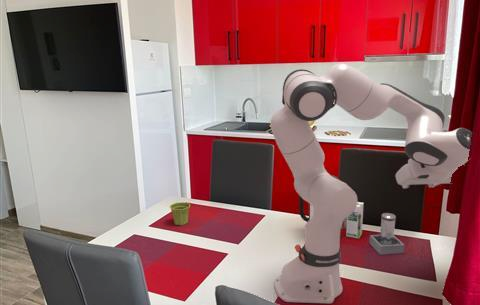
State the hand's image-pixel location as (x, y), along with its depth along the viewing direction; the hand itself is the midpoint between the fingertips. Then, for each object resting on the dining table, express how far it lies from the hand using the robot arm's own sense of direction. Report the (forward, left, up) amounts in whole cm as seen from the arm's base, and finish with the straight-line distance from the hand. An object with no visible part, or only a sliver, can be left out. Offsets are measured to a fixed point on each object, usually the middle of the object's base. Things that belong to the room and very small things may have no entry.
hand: (417, 186), depth 130 cm
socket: (-2, +15, -31) cm, 34 cm away
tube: (-2, +15, -31) cm, 34 cm away
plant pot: (-85, +52, -31) cm, 104 cm away
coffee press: (-25, +28, -31) cm, 48 cm away
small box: (-12, +37, -31) cm, 49 cm away
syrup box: (-10, +28, -31) cm, 43 cm away
